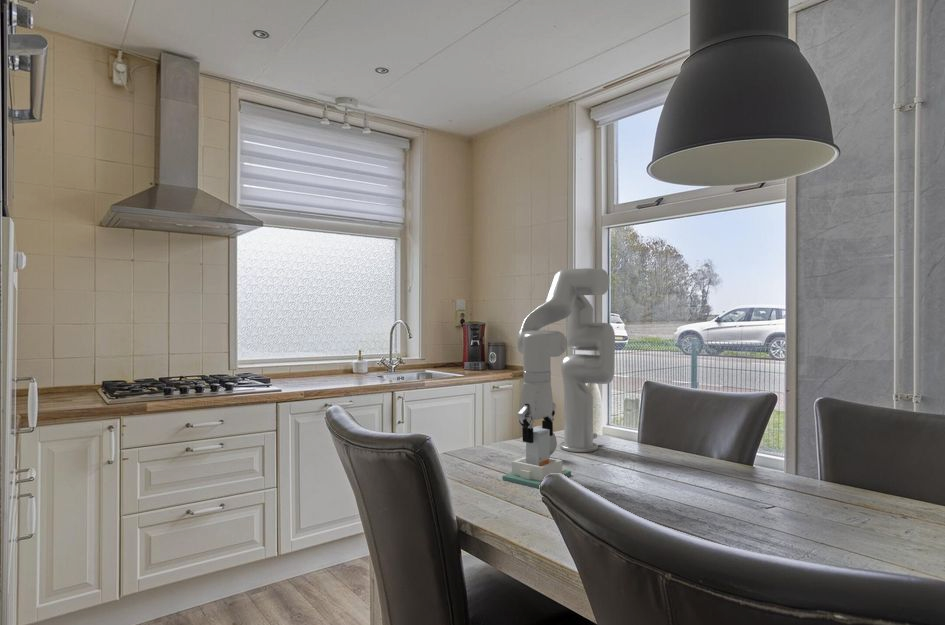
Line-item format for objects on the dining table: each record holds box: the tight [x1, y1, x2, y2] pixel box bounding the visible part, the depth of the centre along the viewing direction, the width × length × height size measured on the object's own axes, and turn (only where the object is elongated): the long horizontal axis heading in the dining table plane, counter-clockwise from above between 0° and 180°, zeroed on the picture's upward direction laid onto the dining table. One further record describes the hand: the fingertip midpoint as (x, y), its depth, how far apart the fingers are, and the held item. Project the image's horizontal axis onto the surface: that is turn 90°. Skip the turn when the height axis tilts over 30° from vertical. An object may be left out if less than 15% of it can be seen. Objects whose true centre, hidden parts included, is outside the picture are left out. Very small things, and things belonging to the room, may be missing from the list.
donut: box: [532, 425, 558, 457], centre depth 173 cm, size 10×3×10 cm, turn 61°
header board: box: [502, 456, 572, 489], centre depth 152 cm, size 16×12×4 cm
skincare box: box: [525, 428, 550, 466], centre depth 152 cm, size 6×4×12 cm
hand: (538, 438), depth 152 cm, fingers open, 9 cm apart
